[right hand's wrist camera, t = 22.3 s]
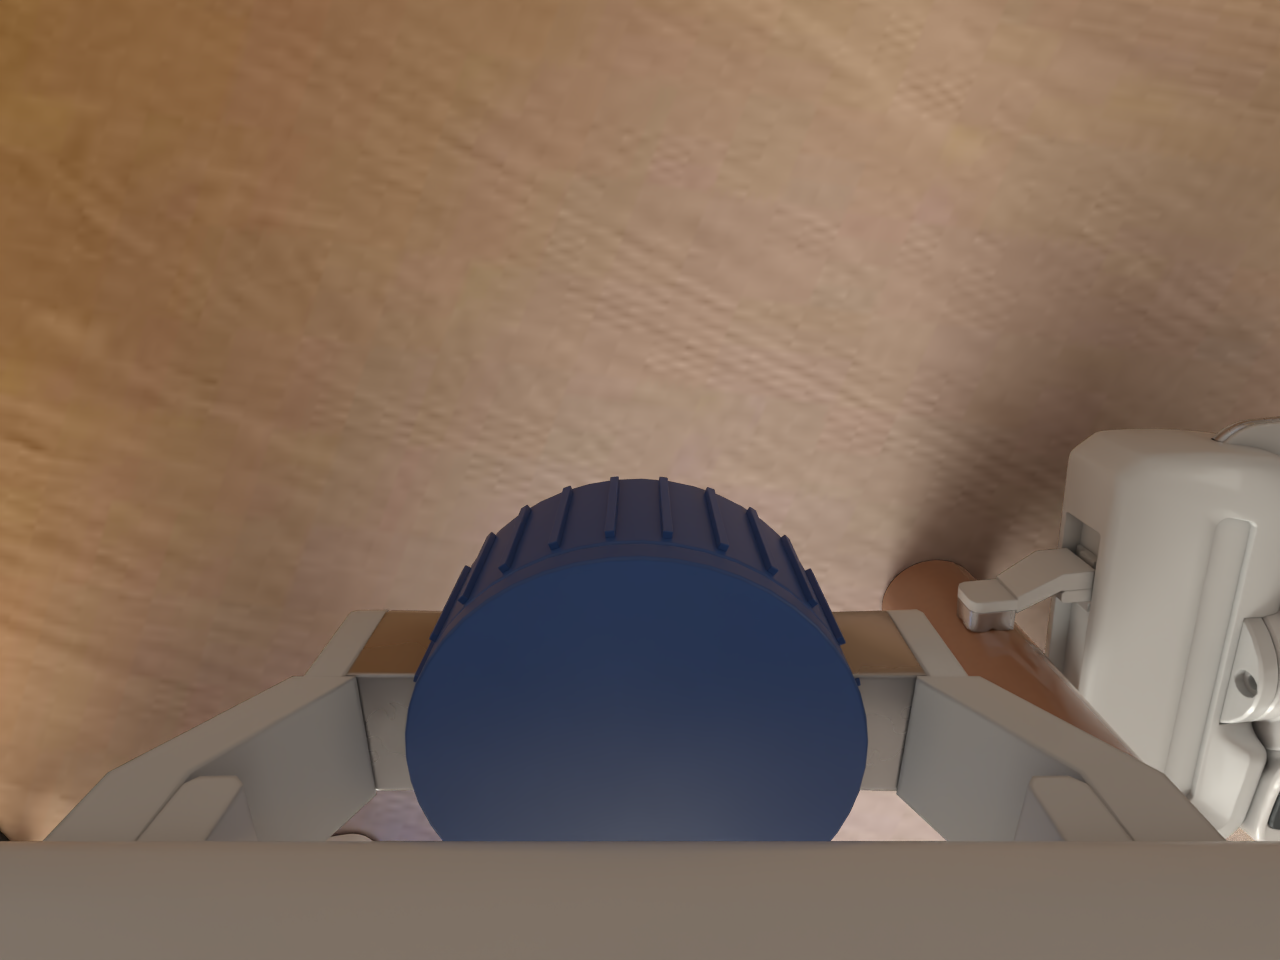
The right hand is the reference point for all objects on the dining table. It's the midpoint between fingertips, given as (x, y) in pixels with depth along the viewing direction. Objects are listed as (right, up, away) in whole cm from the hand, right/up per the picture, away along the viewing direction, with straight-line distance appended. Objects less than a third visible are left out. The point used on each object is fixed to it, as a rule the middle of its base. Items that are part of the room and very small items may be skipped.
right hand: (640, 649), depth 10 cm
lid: (0, -1, -2) cm, 2 cm away
